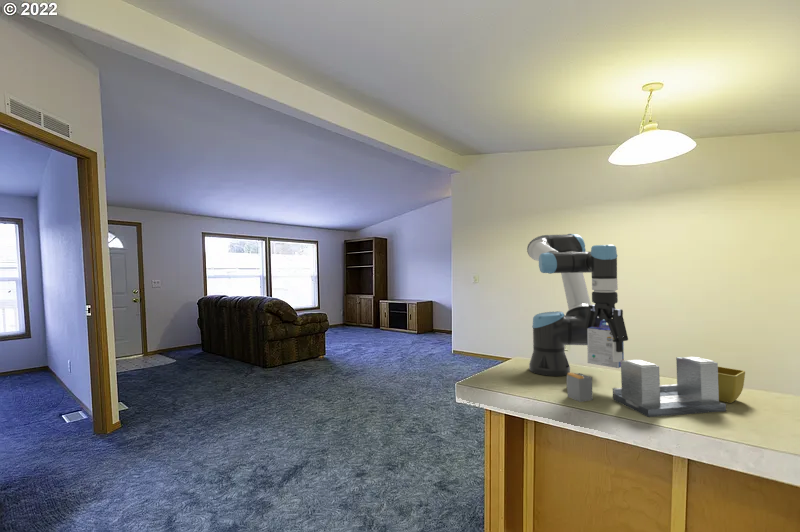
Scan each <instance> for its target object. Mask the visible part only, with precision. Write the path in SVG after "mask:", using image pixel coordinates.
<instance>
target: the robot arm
mask: <svg viewBox="0 0 800 532" xmlns="http://www.w3.org/2000/svg"><path fill="white" fill-rule="evenodd" d="M526 250H527V251H526V252H527V254H528V256H529V258H531V259H532V260H534V261H537V262H538V269H539V272H541V273H542V274H561V278H562V279H561V280H562V283H563V289H564V293H565V299H566V303H567V307H568V310H567V311H566V312H565V314H564V312H563V311H560V310H559V311H546V312H545V311H544V312H541V313H540V312H539V313H537V314H534V316H533V317H532V339H533V341H532V345H533V346H532V348H533V350H532V354H531V357H530V361H529V362H528V363H529V364H528V367H529V371H530V372H531V373H534V374H537V375H541V376H548V377H549V376H550V377H562V376H567V375H568V373H571V367H570V366H571V365H570V363H569V361H568V358H567V354H566V351H565V346H588V344H587V328H589V327H599V325H600V322H601V320H603V321H606V322H607V323H602V325H609V328H610V330H611V333H612V335H613V338H614V340H613V341H612V345H613V362H621V361H622V352H623V343H624V342H627V341H629V337H628V332H627V329H626V323H625V319H624V311H623V308H616V304H617V303H618V302H619V300H618V296H619V295H618V292H617V290H618V289H619V288H618V285H619V284H618V253H617V251H618V250H617V247H616V245H614V244H598V245H597V244H596V245H592V246H591V247H590V251H587V250H586V243H585V241H584V239H583V237H582V236H581V235H579V234H577V233H574V234H573V233H568V234H545V235H540V236H539V235H538V236H537V237H534V238H533V239H531V241H530V242H529V243H528V244H527V247H526ZM585 273H586V274H587V273H591V290H592V292H591V300H590V296H589V291H588V287H587V284H586V280H585V275H584V274H585ZM591 302H592V303H594V304H592V303H591ZM617 337H618V338H617Z"/></svg>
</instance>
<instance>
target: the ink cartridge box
mask: <svg viewBox="0 0 800 532" xmlns="http://www.w3.org/2000/svg"><path fill="white" fill-rule="evenodd" d="M602 323H606V325H602ZM617 338H618V337H617ZM613 340H614V338H613V335H612V333H611V330H610V328H609V325H608V323H607V322H606V321H603V320H601V322H600V325H599V327H589V328H587V344H588V345H587V364H591V365H597V366H602V367H609V368H615V369H621V362H613V345H612V341H613ZM624 345H625V344H624V342H623V352H622V360H624V359H625V358H624V354H625V353H624V350H625V349H624Z"/></svg>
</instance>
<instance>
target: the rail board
mask: <svg viewBox="0 0 800 532" xmlns="http://www.w3.org/2000/svg"><path fill="white" fill-rule="evenodd" d="M675 359H676V360H675V361H676V362H675V363H676V383H674V384H673V383H672V384H661V383H660V382H661V381H660V377H661V376H660V365H657V364H656V363H652V362H649V361H646V360H642V359H627V360H626V359H625V360H622V361H621V367H620V374H621V375H620V378H621V379H620V380H621V387H613V388H612V401H614V402H617V403H619V404H621V405H623V406H624V407H627V408H629V409H631V410H633V411H635V412H637V413H639V414H641V415H643V416H645V417H647V418H655V417H665V416H669V417H670V416H679V415H690V414H691V415H693V414H705V413H706V414H707V413H718V412H719V413H720V412H727V406H726V405H727V404H726V402H723V401H719V390H718V367H719V363H718V362H715V361H714V360H712V359H707V358H703V357H699V356H681V357H680V356H679V357H676V358H675Z"/></svg>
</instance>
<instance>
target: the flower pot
mask: <svg viewBox="0 0 800 532" xmlns="http://www.w3.org/2000/svg"><path fill="white" fill-rule="evenodd" d="M745 376H746V371H745V370H741V369H736V368H730V367H729V368H728V367H723V366H718V390H719V402H722V403H727V404H732V403H733V402H735V401H737V400H738V398H739V397H740V395H741V394H742V392H743V390H744V386H745V378H746V377H745Z"/></svg>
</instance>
